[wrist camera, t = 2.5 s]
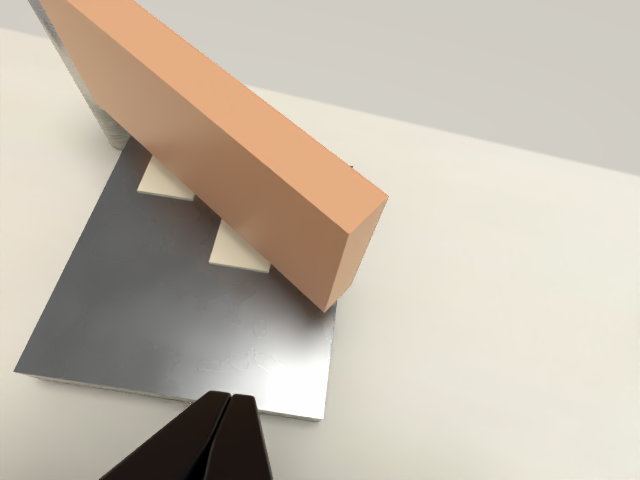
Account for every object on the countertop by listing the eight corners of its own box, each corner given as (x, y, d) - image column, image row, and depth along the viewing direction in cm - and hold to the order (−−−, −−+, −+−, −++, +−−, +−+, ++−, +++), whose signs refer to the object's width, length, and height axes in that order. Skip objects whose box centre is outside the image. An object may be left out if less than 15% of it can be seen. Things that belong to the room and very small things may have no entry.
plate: (318, 421, 16) (361, 395, 7) (-13, 371, 16) (-386, 280, 7) (350, 164, 22) (393, -16, 14) (116, 126, 22) (7, -80, 14)
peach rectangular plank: (324, 313, 14) (348, 234, 9) (94, 101, 18) (15, -43, 13) (350, 285, 15) (389, 196, 9) (123, 86, 18) (58, -57, 13)
